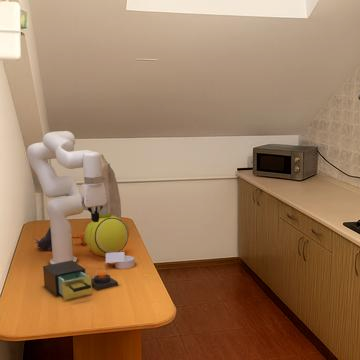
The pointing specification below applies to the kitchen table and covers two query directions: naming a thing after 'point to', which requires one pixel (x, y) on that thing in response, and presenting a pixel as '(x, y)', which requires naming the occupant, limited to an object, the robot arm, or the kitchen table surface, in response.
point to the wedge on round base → (120, 260)
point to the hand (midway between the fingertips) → (95, 221)
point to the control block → (103, 282)
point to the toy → (106, 234)
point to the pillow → (111, 189)
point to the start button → (102, 275)
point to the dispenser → (59, 274)
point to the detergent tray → (74, 285)
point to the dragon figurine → (47, 242)
